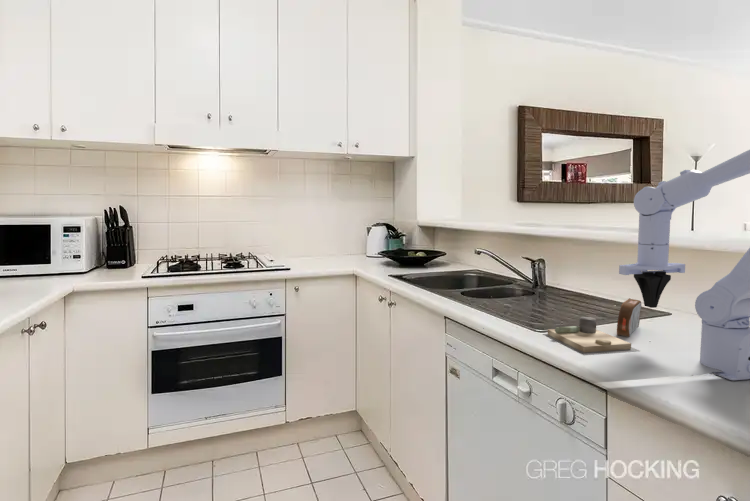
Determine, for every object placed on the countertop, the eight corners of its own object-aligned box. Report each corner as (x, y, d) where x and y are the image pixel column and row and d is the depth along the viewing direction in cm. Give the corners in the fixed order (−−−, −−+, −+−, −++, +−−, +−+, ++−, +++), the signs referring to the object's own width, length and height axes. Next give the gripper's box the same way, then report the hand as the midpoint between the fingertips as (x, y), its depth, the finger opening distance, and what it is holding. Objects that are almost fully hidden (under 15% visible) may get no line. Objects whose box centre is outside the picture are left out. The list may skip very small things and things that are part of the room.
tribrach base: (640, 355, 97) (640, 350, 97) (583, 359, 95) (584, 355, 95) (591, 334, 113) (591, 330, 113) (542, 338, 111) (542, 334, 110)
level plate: (546, 334, 110) (547, 317, 110) (589, 331, 112) (590, 314, 112) (583, 352, 96) (583, 332, 96) (631, 349, 98) (631, 329, 98)
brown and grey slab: (628, 327, 120) (629, 295, 119) (642, 329, 118) (643, 296, 117) (614, 340, 108) (616, 305, 107) (630, 343, 106) (631, 307, 105)
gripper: (668, 241, 104) (665, 301, 106) (610, 243, 102) (608, 304, 103) (694, 244, 98) (691, 307, 99) (633, 246, 95) (630, 311, 96)
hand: (650, 306), depth 101 cm, fingers closed
